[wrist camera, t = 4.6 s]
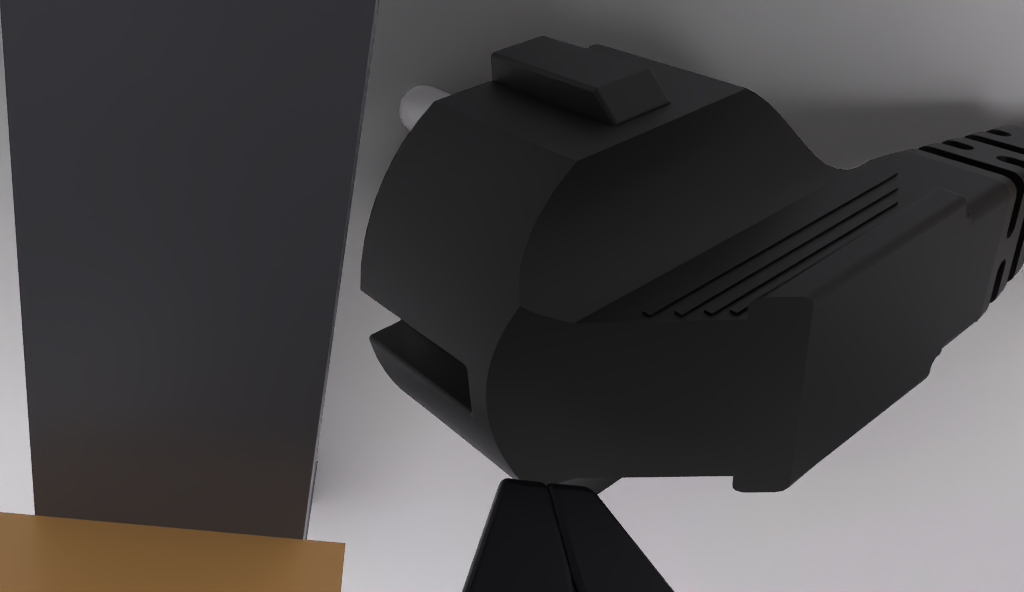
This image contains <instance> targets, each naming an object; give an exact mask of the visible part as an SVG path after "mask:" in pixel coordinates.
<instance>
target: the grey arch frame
mask: <svg viewBox="0 0 1024 592" xmlns="http://www.w3.org/2000/svg"><path fill="white" fill-rule="evenodd" d="M378 5H379V0H0V9H1V24H2V38H3V53H4V67H5V82H6V97H7V111H8V126H9V141H10V155H11V170H12V184H13V199H14V214H15V228H16V243H17V257H18V272H19V287H20V301H21V316H22V331H23V345H24V360H25V374H26V389H27V404H28V418H29V433H30V447H31V462H32V477H33V491H34V506H35V515H25V514H14V513H3V512H0V592H341V583H342V573H343V562H344V552H345V543H336V542H325V541H314V540H307V534H308V527H309V519H310V512H311V505H312V498H313V491H314V483H315V476H316V469H317V462H318V461H316V457H317V450H318V443H319V436H320V428H321V421H322V414H323V406H324V399H325V392H326V384H327V377H328V370H329V363H330V355H331V348H332V341H333V333H334V326H335V319H336V311H337V304H338V297H339V289H340V282H341V275H342V268H343V260H344V253H345V246H346V238H347V231H348V224H349V216H350V209H351V202H352V195H353V187H354V180H355V173H356V165H357V158H358V151H359V143H360V136H361V129H362V122H363V114H364V107H365V100H366V92H367V85H368V78H369V70H370V63H371V56H372V49H373V41H374V34H375V27H376V19H377V12H378Z"/></svg>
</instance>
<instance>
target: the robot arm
mask: <svg viewBox="0 0 1024 592" xmlns="http://www.w3.org/2000/svg"><path fill="white" fill-rule="evenodd" d="M462 592H674V591H673V590H672V588H671V587H670V586H669V585H668V583H667V582H666V581H665V579H664V578H663V577H662V576H661V574H660V573H659V572H658V571H657V569H656V568H655V567H654V566H653V564H652V563H651V562H650V561H649V559H648V558H647V557H646V556H645V554H644V553H643V552H642V551H641V549H640V548H639V547H638V546H637V544H636V543H635V542H634V541H633V539H632V538H631V537H630V536H629V534H628V533H627V532H626V531H625V529H624V528H623V527H622V526H621V524H620V523H619V522H618V521H617V519H616V518H615V517H614V515H613V514H612V513H611V512H610V510H609V509H608V508H607V507H606V505H605V504H604V503H603V502H602V500H601V499H600V498H599V497H598V495H597V494H596V493H595V492H594V491H593V490H591V489H590V488H588V487H585V486H576V485H567V484H558V483H549V484H547V485H545V484H544V483H543V482H538V481H529V480H519V479H510V478H507V479H504V480H502V481H501V482H500V484H499V486H498V489H497V492H496V495H495V498H494V501H493V504H492V507H491V509H490V512H489V515H488V518H487V521H486V524H485V527H484V530H483V533H482V536H481V538H480V541H479V544H478V547H477V550H476V553H475V556H474V559H473V562H472V565H471V567H470V570H469V573H468V576H467V579H466V582H465V585H464V588H463V591H462Z"/></svg>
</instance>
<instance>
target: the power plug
mask: <svg viewBox="0 0 1024 592" xmlns="http://www.w3.org/2000/svg"><path fill="white" fill-rule="evenodd" d="M491 64H492V78H493V81H490V82H487V83H484V84H481V85H479V86H476V87H473V88H470V89H467V90H464V91H461V92H459V93H456V94H453V95H451V94H448V93H446V92H444V91H441V90H439V89H436V88H434V87H431V86H424V85H420V86H415V87H413V88H411V89H410V90H409V91H408V92H407V93H406V94H405V95H404V96H403V98H402V100H401V102H400V108H399V116H400V118H401V121H402V124H403V125H404V126H405V127H406V128H407V129H408V130H409V131H410V133H409V134H408V135H407V137H406V138H405V140H404V141H403V143H402V145H401V146H400V148H399V150H398V152H397V153H396V155H395V157H394V158H393V160H392V162H391V164H390V166H389V168H388V170H387V172H386V174H385V177H384V179H383V181H382V184H381V186H380V188H379V191H378V194H377V196H376V199H375V202H374V205H373V208H372V211H371V215H370V219H369V223H368V226H367V230H366V236H365V240H364V247H363V254H362V261H361V291H363V292H364V293H365V294H367V295H368V296H370V297H371V298H373V299H374V300H375V301H377V302H378V303H380V304H381V305H382V306H384V307H385V308H387V309H388V310H389V311H391V312H392V313H394V314H395V315H396V316H398V317H399V318H401V320H400V321H399V322H397V323H395V324H393V325H391V326H388V327H386V328H384V329H382V330H380V331H378V332H376V333H374V334H372V335H371V336H370V338H369V340H370V342H371V345H372V347H373V349H374V352H375V354H376V356H377V358H378V360H379V362H380V363H381V365H382V367H383V368H384V370H385V371H386V373H387V374H388V375H389V377H390V378H391V379H392V380H393V381H394V382H395V383H396V385H397V386H399V387H400V388H401V389H402V390H403V391H404V392H405V393H407V394H408V395H409V396H411V397H412V398H413V399H414V400H416V401H417V402H418V403H419V404H421V405H422V406H423V407H425V408H426V409H427V410H428V411H430V412H431V413H432V414H434V415H435V416H436V417H437V418H439V419H440V420H441V421H442V422H444V423H445V424H446V425H447V426H448V427H450V428H451V429H452V430H453V431H455V432H456V433H457V434H458V435H460V436H461V437H462V438H463V439H465V440H466V441H467V442H468V443H470V444H471V445H472V446H473V447H475V448H476V449H477V450H478V451H480V452H481V453H482V454H483V455H485V456H486V457H487V458H488V459H490V460H491V461H492V462H493V463H495V464H496V465H497V466H498V467H500V468H501V469H502V470H503V471H505V472H506V473H507V474H508V475H510V476H511V477H512V478H513V479H519V480H529V481H538V482H543V483H544V484H545V485H547V484H549V483H558V484H567V485H576V486H585V487H588V488H590V489H591V490H593V491H594V492H595V493H596V494H599V493H600V492H602V491H603V490H605V489H606V488H608V487H609V486H610V485H612V484H613V483H615V482H616V481H618V480H619V479H621V478H622V477H690V476H733V488H734V489H735V490H736V491H739V492H778V491H783V490H785V489H787V488H788V487H790V486H791V485H792V484H793V483H794V482H796V481H797V480H798V479H799V478H800V477H802V476H803V475H804V474H805V473H806V472H807V471H809V470H810V469H811V468H812V467H813V466H815V465H816V464H817V463H818V462H820V461H821V460H822V459H823V458H825V457H826V456H827V455H829V454H830V453H831V452H832V451H834V450H835V449H836V448H838V447H839V446H840V445H841V444H843V443H844V442H845V441H846V440H848V439H849V438H850V437H852V436H853V435H854V434H855V433H857V432H858V431H859V430H861V429H862V428H863V427H864V426H866V425H867V424H868V423H869V422H871V421H872V420H873V419H875V418H876V417H877V416H878V415H880V414H881V413H882V412H883V411H885V410H886V409H887V408H889V407H890V406H891V405H892V404H894V403H895V402H896V401H898V400H899V399H900V398H901V397H903V396H904V395H905V394H906V393H908V392H909V391H910V390H912V389H913V388H914V387H915V386H917V385H918V384H919V383H921V382H922V381H923V380H924V379H926V378H927V376H928V375H929V373H930V368H931V365H932V363H933V361H934V360H935V358H936V357H937V356H938V355H939V354H940V353H941V351H942V348H943V347H944V346H946V345H947V344H948V343H949V342H951V341H952V340H953V339H954V338H955V337H957V336H958V335H959V334H960V333H962V332H963V331H964V330H965V329H967V328H968V327H969V326H970V325H972V324H973V323H974V322H976V321H977V320H978V319H979V318H980V317H981V316H982V315H983V314H984V313H985V311H986V310H987V308H988V306H989V303H991V302H993V301H994V300H995V299H996V298H997V297H998V296H999V294H1000V293H1001V292H1002V291H1003V289H1004V288H1005V286H1006V283H1007V282H1008V281H1010V280H1011V279H1013V277H1014V276H1015V275H1016V274H1017V272H1018V271H1019V270H1020V269H1021V267H1022V265H1023V263H1024V128H1022V127H1018V126H1009V125H1008V126H1004V127H1000V128H996V129H992V130H989V131H987V132H980V133H976V134H972V135H968V136H966V137H964V138H961V137H959V138H955V139H951V140H947V141H944V142H942V143H935V144H931V145H927V146H923V147H920V148H919V149H911V150H908V151H904V152H899V153H894V154H890V155H886V156H883V157H879V158H876V159H873V160H870V161H868V162H867V163H865V164H863V165H861V166H859V167H858V168H855V169H851V170H840V169H835V168H833V167H831V166H828V165H826V164H824V163H823V162H822V161H821V160H819V159H818V158H817V157H816V156H815V155H814V154H813V153H812V152H811V151H810V150H809V149H808V148H807V147H806V145H805V144H804V143H803V142H802V141H801V140H800V138H799V137H798V136H797V135H796V133H795V132H794V131H793V130H792V129H791V127H790V126H789V125H788V124H787V123H786V121H785V120H784V119H783V118H782V117H781V116H780V114H779V113H778V112H777V111H776V110H775V109H774V108H773V107H772V106H771V105H770V104H769V103H768V102H766V101H765V100H764V99H763V98H761V97H760V96H758V95H757V94H756V93H754V92H752V91H750V90H748V89H746V88H743V87H740V86H736V85H733V84H729V83H726V82H723V81H719V80H716V79H713V78H709V77H706V76H703V75H699V74H696V73H693V72H689V71H686V70H682V69H679V68H676V67H672V66H669V65H666V64H662V63H659V62H656V61H652V60H649V59H646V58H642V57H639V56H636V55H632V54H629V53H625V52H622V51H619V50H615V49H612V48H609V47H605V46H602V45H599V44H596V45H593V46H590V47H587V48H585V49H584V48H581V47H578V46H575V45H571V44H568V43H565V42H561V41H558V40H555V39H552V38H548V37H545V36H541V37H538V38H535V39H532V40H529V41H526V42H523V43H520V44H517V45H514V46H511V47H508V48H505V49H502V50H499V51H496V52H493V53H492V55H491Z"/></svg>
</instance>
